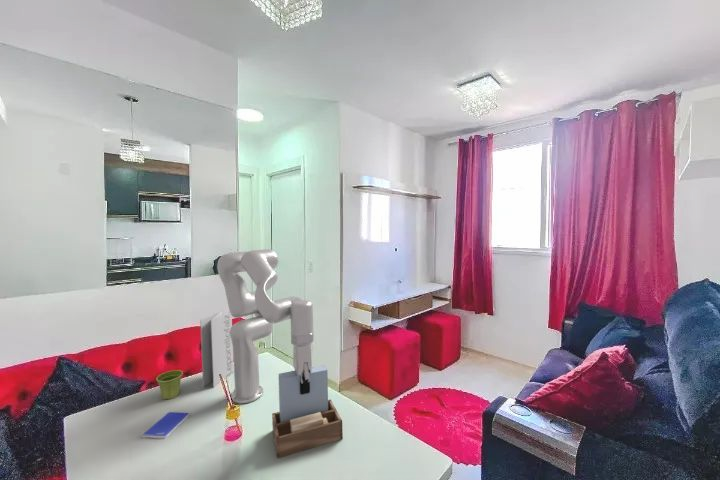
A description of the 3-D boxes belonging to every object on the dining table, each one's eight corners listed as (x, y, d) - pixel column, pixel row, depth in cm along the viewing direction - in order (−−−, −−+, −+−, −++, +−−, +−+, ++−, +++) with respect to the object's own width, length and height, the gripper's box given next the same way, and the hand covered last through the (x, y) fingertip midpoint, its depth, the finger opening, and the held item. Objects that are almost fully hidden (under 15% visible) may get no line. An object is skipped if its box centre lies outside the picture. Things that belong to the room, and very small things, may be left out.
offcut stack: (285, 443, 96) (285, 420, 96) (327, 431, 102) (327, 409, 101) (288, 452, 92) (287, 429, 92) (331, 439, 97) (330, 417, 97)
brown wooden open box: (272, 430, 102) (272, 413, 102) (331, 415, 110) (330, 399, 110) (277, 458, 90) (276, 438, 89) (342, 438, 97) (342, 421, 97)
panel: (280, 431, 102) (278, 373, 101) (325, 419, 108) (324, 364, 107) (281, 438, 98) (279, 379, 97) (328, 425, 104) (327, 369, 103)
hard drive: (164, 435, 99) (189, 412, 112) (142, 434, 100) (168, 411, 112) (165, 439, 99) (189, 416, 112) (142, 438, 100) (168, 415, 112)
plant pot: (188, 393, 127) (187, 373, 126) (164, 404, 119) (162, 383, 118) (176, 387, 132) (176, 368, 131) (153, 397, 124) (152, 377, 124)
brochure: (213, 387, 131) (211, 320, 130) (202, 386, 132) (200, 319, 131) (233, 372, 145) (231, 311, 144) (223, 371, 146) (221, 310, 145)
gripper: (287, 331, 108) (288, 380, 109) (295, 348, 92) (296, 405, 93) (308, 328, 111) (309, 376, 111) (319, 344, 95) (320, 400, 96)
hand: (303, 389), depth 102 cm, fingers closed on panel, 4 cm apart
